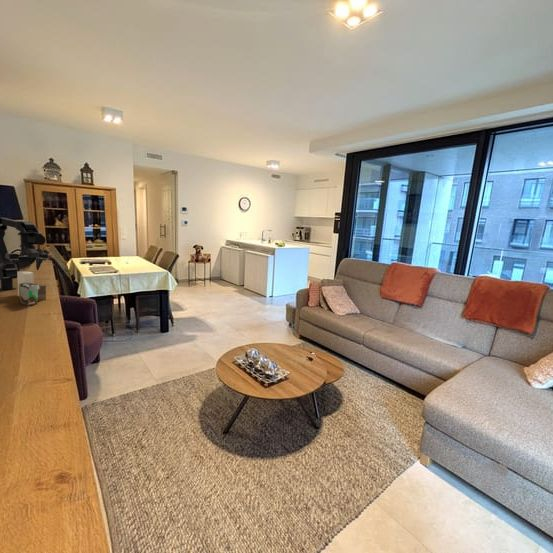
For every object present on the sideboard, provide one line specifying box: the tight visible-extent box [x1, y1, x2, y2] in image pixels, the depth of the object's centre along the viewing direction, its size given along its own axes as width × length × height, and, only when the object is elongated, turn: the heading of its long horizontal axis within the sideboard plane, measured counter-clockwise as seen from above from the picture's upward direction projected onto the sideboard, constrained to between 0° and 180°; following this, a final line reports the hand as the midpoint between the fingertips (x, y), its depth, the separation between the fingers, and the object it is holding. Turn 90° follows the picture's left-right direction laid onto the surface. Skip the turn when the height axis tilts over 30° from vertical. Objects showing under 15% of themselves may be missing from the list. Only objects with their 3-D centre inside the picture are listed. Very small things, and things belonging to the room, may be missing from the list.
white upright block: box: [16, 270, 35, 297], centre depth 164 cm, size 8×4×14 cm, turn 62°
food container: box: [19, 282, 40, 307], centre depth 154 cm, size 12×6×10 cm, turn 58°
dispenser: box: [19, 283, 47, 302], centre depth 159 cm, size 5×10×8 cm, turn 152°
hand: (28, 270), depth 174 cm, fingers open, 9 cm apart
